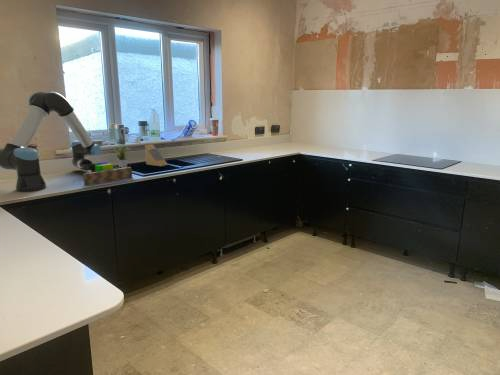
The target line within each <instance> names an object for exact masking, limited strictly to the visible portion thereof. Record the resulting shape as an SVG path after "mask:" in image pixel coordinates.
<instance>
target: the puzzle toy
mask: <svg viewBox="0 0 500 375" xmlns="http://www.w3.org/2000/svg"><path fill="white" fill-rule="evenodd" d="M112 169H114V164H113V163H110V162H107V161H103V162H96V163H94V164H91V170H90V171H91V172H90V173H92V172H98V171H105V170H112Z"/></svg>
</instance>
